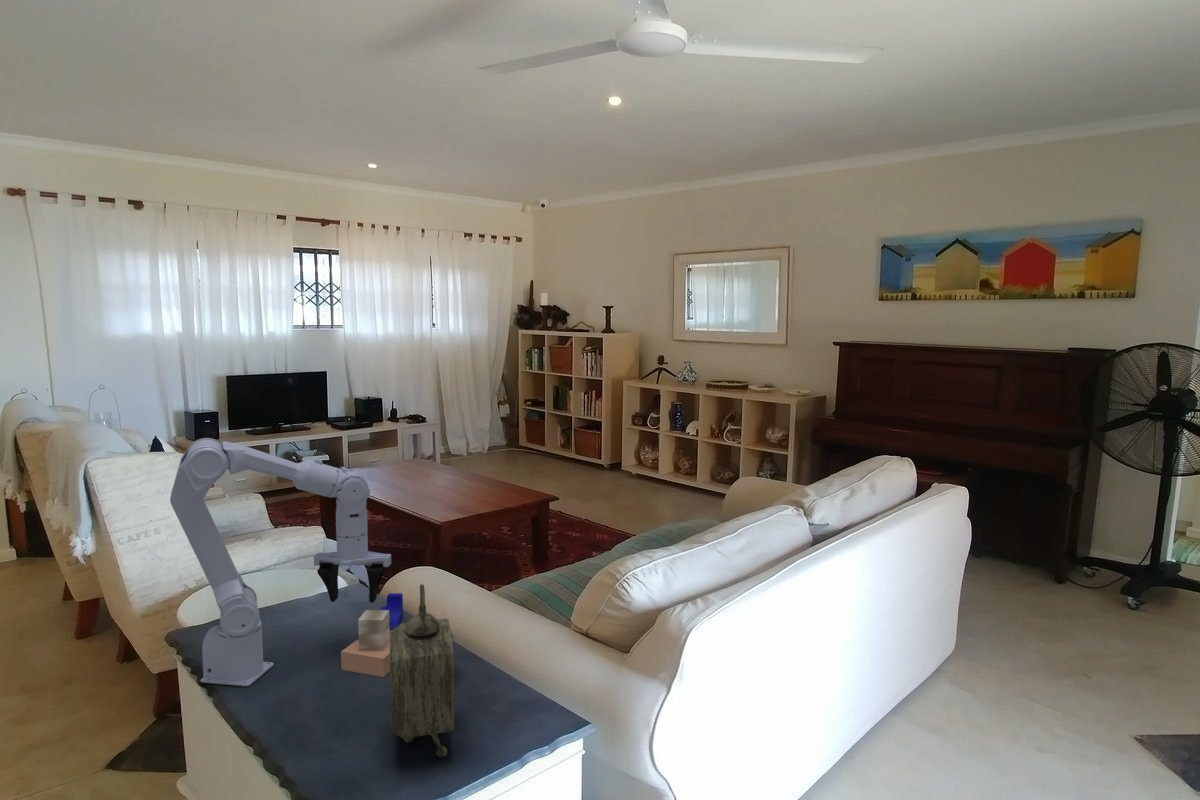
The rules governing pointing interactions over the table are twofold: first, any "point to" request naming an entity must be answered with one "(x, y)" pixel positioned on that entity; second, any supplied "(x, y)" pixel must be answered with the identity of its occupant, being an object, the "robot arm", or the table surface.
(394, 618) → the blue stepped block
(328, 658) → the table surface
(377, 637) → the ivory block
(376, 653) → the terracotta block
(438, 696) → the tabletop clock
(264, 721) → the table surface
